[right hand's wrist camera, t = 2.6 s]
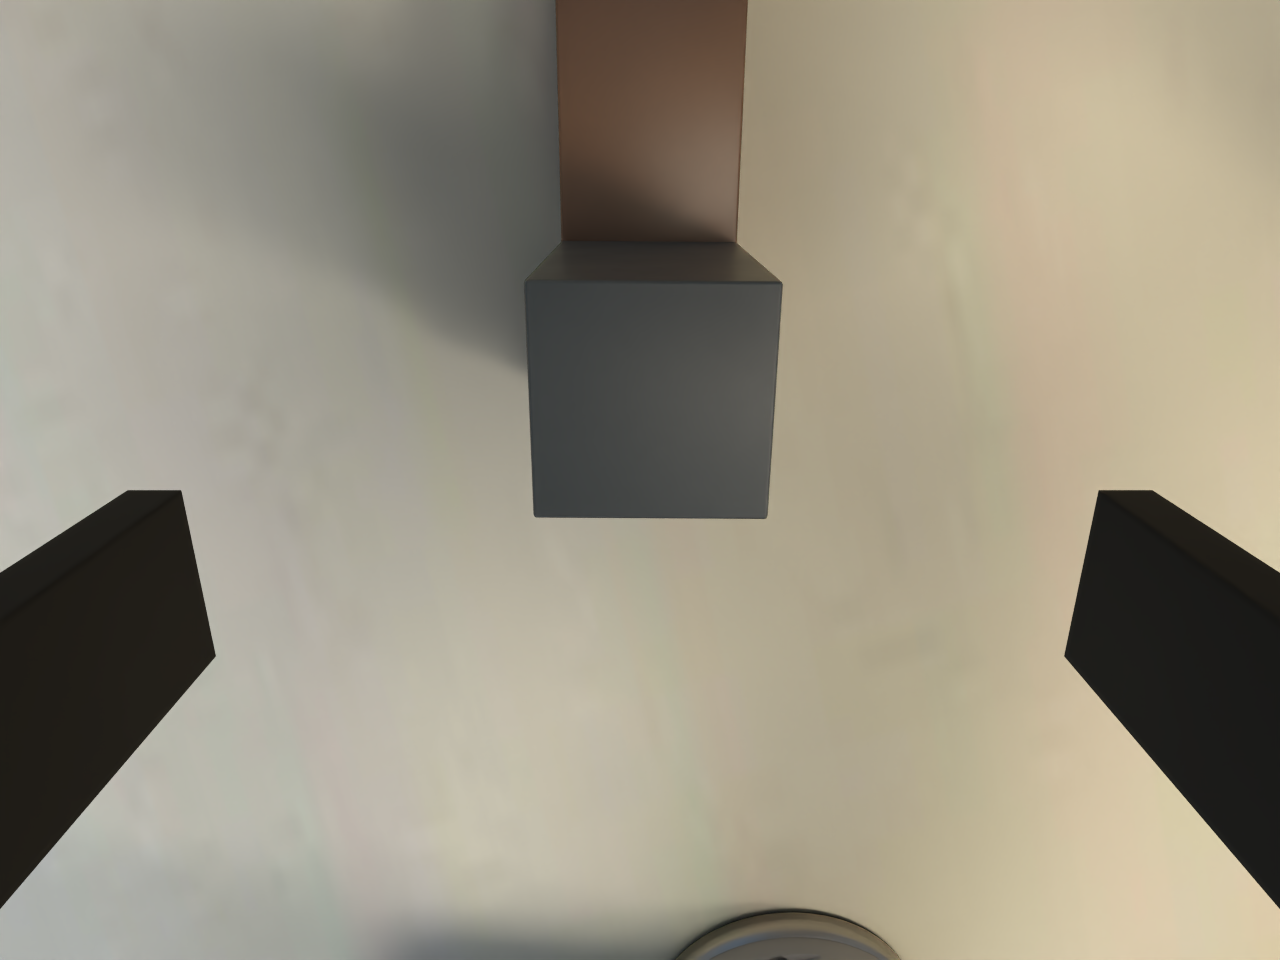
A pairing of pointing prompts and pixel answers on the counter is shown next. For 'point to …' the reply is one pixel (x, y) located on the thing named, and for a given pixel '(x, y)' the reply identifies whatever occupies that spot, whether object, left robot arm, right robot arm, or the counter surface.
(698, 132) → the walnut beam
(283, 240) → the counter surface
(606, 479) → the cap block
